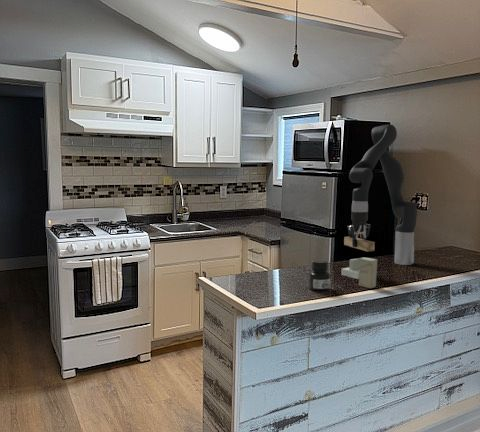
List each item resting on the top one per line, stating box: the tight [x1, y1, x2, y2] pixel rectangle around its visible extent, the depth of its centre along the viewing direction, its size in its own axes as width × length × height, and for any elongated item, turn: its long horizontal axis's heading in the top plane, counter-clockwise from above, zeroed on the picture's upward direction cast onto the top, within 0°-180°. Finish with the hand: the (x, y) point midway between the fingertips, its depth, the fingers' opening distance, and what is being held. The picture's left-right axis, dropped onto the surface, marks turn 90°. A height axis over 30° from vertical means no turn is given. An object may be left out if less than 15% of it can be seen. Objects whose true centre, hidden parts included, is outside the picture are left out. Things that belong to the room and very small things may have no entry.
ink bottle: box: [308, 259, 331, 292], centre depth 195 cm, size 10×9×12 cm
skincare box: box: [358, 257, 378, 289], centre depth 199 cm, size 6×4×12 cm
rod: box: [343, 236, 376, 252], centre depth 218 cm, size 4×18×4 cm, turn 22°
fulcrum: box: [340, 256, 365, 280], centre depth 219 cm, size 12×10×8 cm
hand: (358, 246), depth 218 cm, fingers closed on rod, 4 cm apart
